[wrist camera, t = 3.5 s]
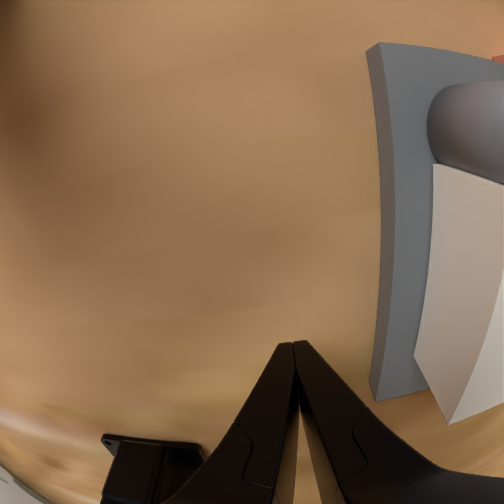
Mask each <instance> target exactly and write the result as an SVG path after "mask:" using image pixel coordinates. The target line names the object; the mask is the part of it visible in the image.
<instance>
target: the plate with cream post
mask: <svg viewBox="0 0 504 504" xmlns="http://www.w3.org/2000/svg"><path fill="white" fill-rule="evenodd" d="M366 55H367V61H368V67H369V73H370V79H371V86H372V93H373V101H374V109H375V118H376V128H377V139H378V151H379V167H380V188H381V261H380V283H379V299H378V312H377V323H376V333H375V342H374V350H373V358H372V366H371V373H370V379H369V384H370V387H371V390H372V393H373V397H374V400H375V402H378V401H383V400H387V399H392V398H396V397H400V396H404V395H408V394H412V393H416V392H419V391H423V390H427V389H430V387H429V385H428V383H427V381H426V379H425V377H424V375H423V373H422V371H421V370H420V368H419V366H418V364H417V362H416V360H415V358H414V352H415V347H416V342H417V338H418V333H419V328H420V322H421V317H422V311H423V305H424V298H425V291H426V284H427V276H428V268H429V258H430V247H431V234H432V216H433V164H440V163H439V161H438V160H437V158H436V157H435V155H434V153H433V151H432V149H431V146H430V143H429V139H428V134H427V115H428V110H429V107H430V104H431V102H432V100H433V98H434V97H435V95H436V94H437V93H438V92H439V91H440V90H442V89H443V88H445V87H448V86H451V85H459V84H468V83H477V82H489V81H503V80H504V55H502V56H496V57H493V61H492V60H488V59H484V58H480V57H476V56H472V55H467V54H462V53H458V52H453V51H447V50H441V49H435V48H429V47H422V46H414V45H405V44H395V43H383V42H379V43H377V44H376V45H374V46H373V47H371V48H370V49H368V50H367V51H366Z"/></svg>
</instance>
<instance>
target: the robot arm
mask: <svg viewBox="0 0 504 504" xmlns="http://www.w3.org/2000/svg"><path fill="white" fill-rule="evenodd" d="M293 350H294V351H293ZM294 359H295V360H294ZM295 368H296V370H295ZM296 378H297V379H296ZM297 388H298V389H297ZM298 398H299V400H298ZM365 406H366V405H365V404H364V403H363V402H362V401H361V399H360V398H359V397H358V396H357V395H356V394H355V393H354V392H353V391H352V390H351V389H350V387H349V386H348V385H347V384H346V383H345V382H344V381H343V380H342V379H341V378H340V376H339V375H338V374H337V373H336V372H335V371H334V370H333V369H332V368H331V366H330V365H329V364H328V363H327V362H326V361H325V360H324V359H323V358H322V356H321V355H320V354H319V353H318V352H317V351H316V350H315V349H314V348H313V346H312V345H311V344H310V343H309V342H308V341H307V340H301V341H294V342H293V343H292V342H285V343H279V344H278V345H277V347H276V349H275V351H274V352H273V354H272V356H271V358H270V360H269V362H268V363H267V365H266V367H265V369H264V370H263V372H262V374H261V376H260V378H259V379H258V381H257V383H256V385H255V386H254V388H253V390H252V392H251V393H250V395H249V397H248V398H247V400H246V402H245V403H244V405H243V407H242V409H241V410H240V412H239V414H238V415H237V417H236V419H235V420H234V423H232V425H231V427H230V428H229V430H228V431H227V433H226V435H225V436H224V437H223V439H222V440H221V442H220V443H219V445H218V446H217V447H216V449H215V450H214V451H213V452H212V454H211V455H210V456H209V457H208V459H207V458H206V457H205V455H204V453H203V451H202V449H201V448H200V446H198V445H196V444H193V443H182V442H167V441H156V440H146V439H137V438H130V437H122V436H116V435H110V434H103V435H102V438H101V442H102V443H103V444H104V446H105V447H106V448H107V449H108V450H109V451H110V453H111V454H112V455H113V456H114V459H113V462H112V464H111V467H110V470H109V473H108V476H107V478H106V481H105V484H104V487H103V490H102V499H101V502H100V504H293V497H294V486H295V474H296V461H297V446H298V430H299V407H300V413H301V418H302V422H303V426H304V430H305V434H306V438H307V442H308V447H309V451H310V455H311V459H312V463H313V467H314V472H315V476H316V480H317V484H318V488H319V493H320V497H321V501H322V504H504V478H500V477H490V476H482V475H475V474H468V473H461V472H455V471H450V470H447V469H444V468H441V467H439V466H437V465H436V464H434V463H432V462H431V461H429V460H428V459H427V458H425V457H424V456H423V455H421V454H420V453H419V452H418V451H416V450H415V449H414V448H412V447H411V446H410V445H409V444H407V443H406V442H405V441H403V440H402V439H401V438H400V437H398V436H397V435H396V434H395V433H394V432H393V431H391V430H390V429H389V428H388V427H387V426H385V425H384V424H383V423H382V422H381V421H380V420H379V419H378V418H377V417H376V416H375V415H374V413H373V412H372V411H371V410H370V409H369V408H368V407H367V406H366V407H365Z"/></svg>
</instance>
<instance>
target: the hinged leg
mask: <svg viewBox="0 0 504 504" xmlns="http://www.w3.org/2000/svg"><path fill="white" fill-rule="evenodd" d="M427 134H428V139H429V143H430V146H431V149H432V151H433V153H434V155H435V157H436V158H437V160H438V161H439V163H440V164H433V216H432V234H431V247H430V258H429V268H428V276H427V284H426V291H425V298H424V305H423V311H422V317H421V322H420V328H419V333H418V338H417V342H416V347H415V352H414V358H415V360H416V362H417V364H418V366H419V368H420V370H421V371H422V373H423V375H424V377H425V379H426V381H427V383H428V385H429V387H430V389H431V391H432V393H433V395H434V397H435V399H436V401H437V403H438V405H439V408H440V410H441V412H442V414H443V416H444V418H445V420H446V423H447V425H450V424H453V423H456V422H458V421H461V420H464V419H466V418H469V417H471V416H474V415H476V414H479V413H481V412H483V411H486V410H488V409H490V408H492V407H495V406H497V405H499V404H501V403H503V402H504V80H503V81H489V82H477V83H468V84H459V85H451V86H448V87H445V88H443V89H442V90H440V91H439V92H438V93H437V94H436V95H435V97H434V98H433V100H432V102H431V104H430V107H429V110H428V115H427Z"/></svg>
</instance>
